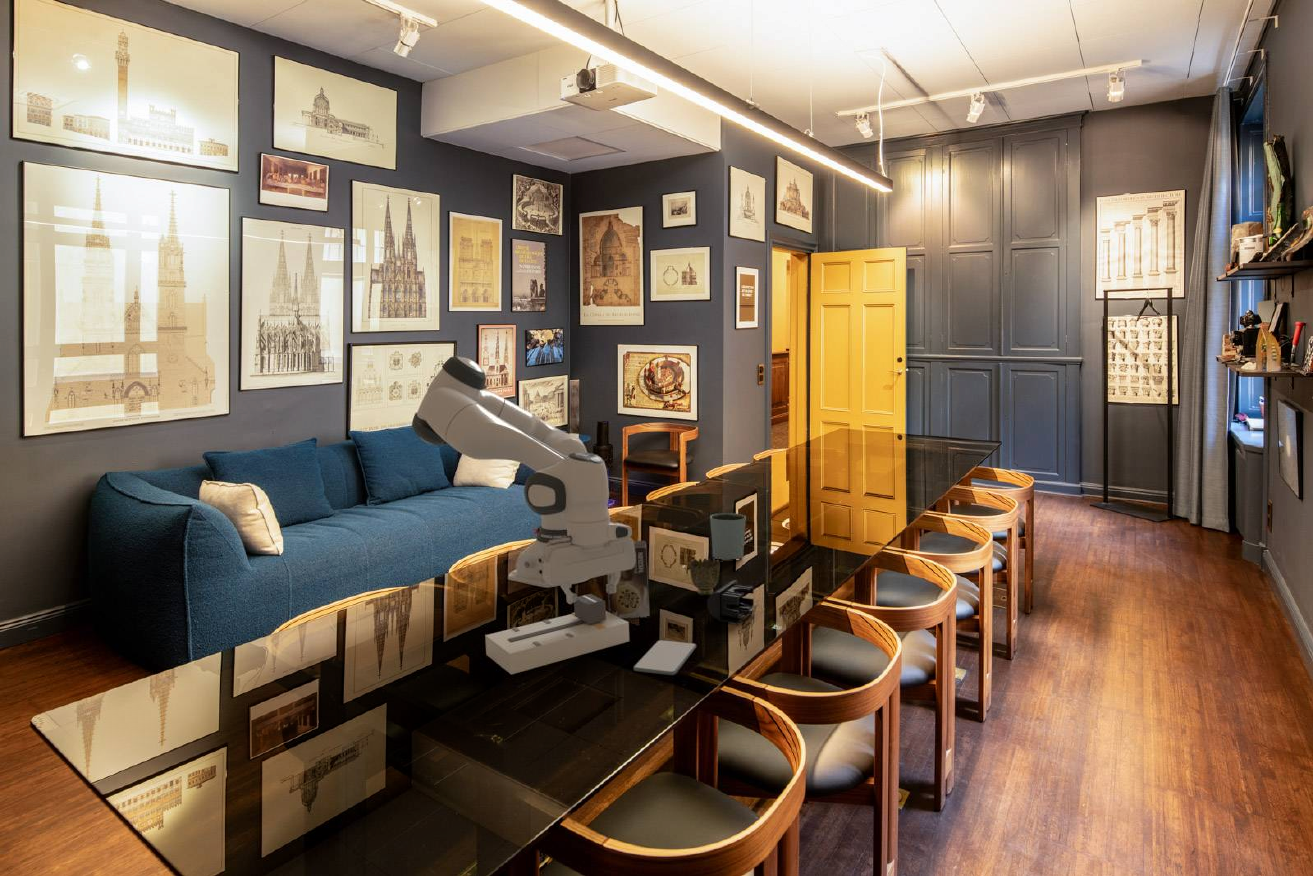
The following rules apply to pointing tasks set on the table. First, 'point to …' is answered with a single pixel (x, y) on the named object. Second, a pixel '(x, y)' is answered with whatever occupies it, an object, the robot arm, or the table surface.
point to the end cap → (731, 602)
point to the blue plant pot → (727, 535)
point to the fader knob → (590, 609)
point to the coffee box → (632, 588)
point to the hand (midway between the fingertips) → (592, 597)
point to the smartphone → (665, 657)
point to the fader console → (553, 641)
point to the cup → (704, 575)
